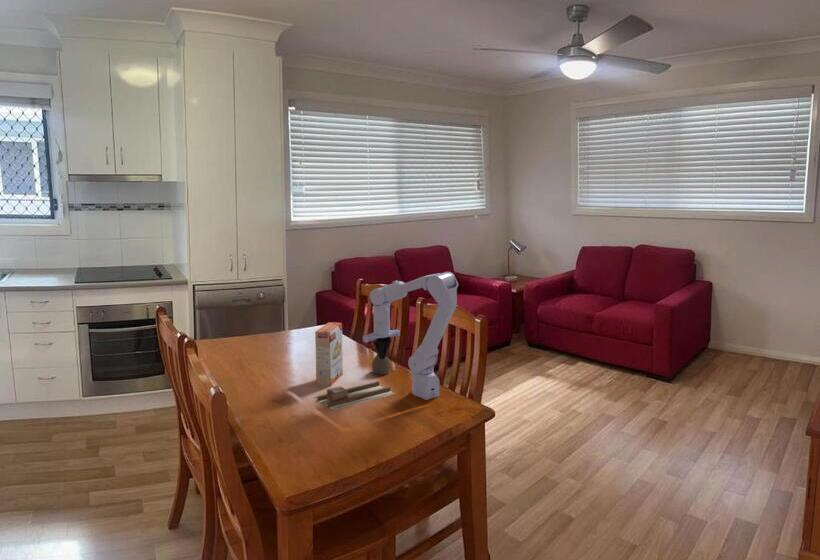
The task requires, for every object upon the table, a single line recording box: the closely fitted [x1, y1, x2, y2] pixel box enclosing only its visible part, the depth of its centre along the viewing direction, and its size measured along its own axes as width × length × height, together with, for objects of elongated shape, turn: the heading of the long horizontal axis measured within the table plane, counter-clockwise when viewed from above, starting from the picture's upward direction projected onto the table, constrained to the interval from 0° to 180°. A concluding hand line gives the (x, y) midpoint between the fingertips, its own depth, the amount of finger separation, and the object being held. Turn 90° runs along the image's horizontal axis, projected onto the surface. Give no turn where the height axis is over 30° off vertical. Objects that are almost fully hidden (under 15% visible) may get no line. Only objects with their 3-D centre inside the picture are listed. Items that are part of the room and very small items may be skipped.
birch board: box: [313, 381, 396, 411], centre depth 195 cm, size 14×24×2 cm, turn 126°
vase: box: [371, 352, 391, 376], centre depth 217 cm, size 7×7×9 cm
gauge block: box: [326, 385, 348, 402], centre depth 191 cm, size 5×5×4 cm
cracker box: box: [314, 321, 344, 387], centre depth 209 cm, size 14×6×21 cm, turn 168°
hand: (382, 358), depth 204 cm, fingers closed
